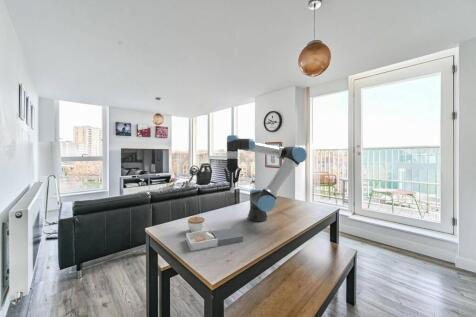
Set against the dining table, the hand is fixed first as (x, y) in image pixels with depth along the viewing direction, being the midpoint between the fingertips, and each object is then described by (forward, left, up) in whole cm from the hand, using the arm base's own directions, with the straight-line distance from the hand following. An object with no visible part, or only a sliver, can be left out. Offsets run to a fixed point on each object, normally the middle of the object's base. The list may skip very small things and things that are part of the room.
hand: (232, 192), depth 137 cm
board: (+10, +15, -24) cm, 30 cm away
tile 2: (+21, +15, -23) cm, 34 cm away
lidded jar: (+24, -4, -25) cm, 35 cm away
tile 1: (+25, +15, -21) cm, 36 cm away
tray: (+25, +15, -24) cm, 38 cm away
